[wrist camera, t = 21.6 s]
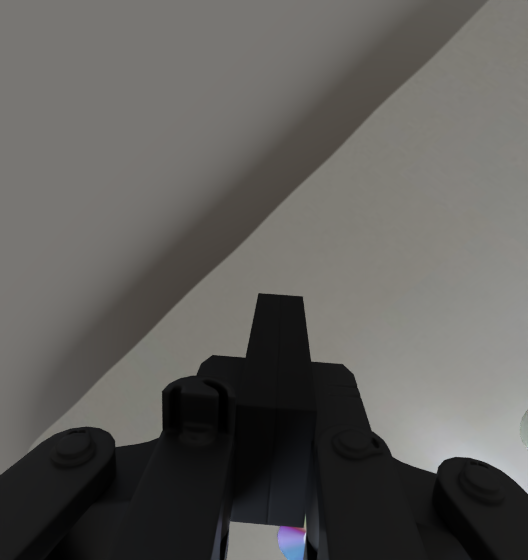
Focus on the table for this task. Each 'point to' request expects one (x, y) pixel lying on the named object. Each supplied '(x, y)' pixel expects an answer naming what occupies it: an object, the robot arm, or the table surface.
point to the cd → (292, 541)
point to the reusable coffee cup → (524, 429)
